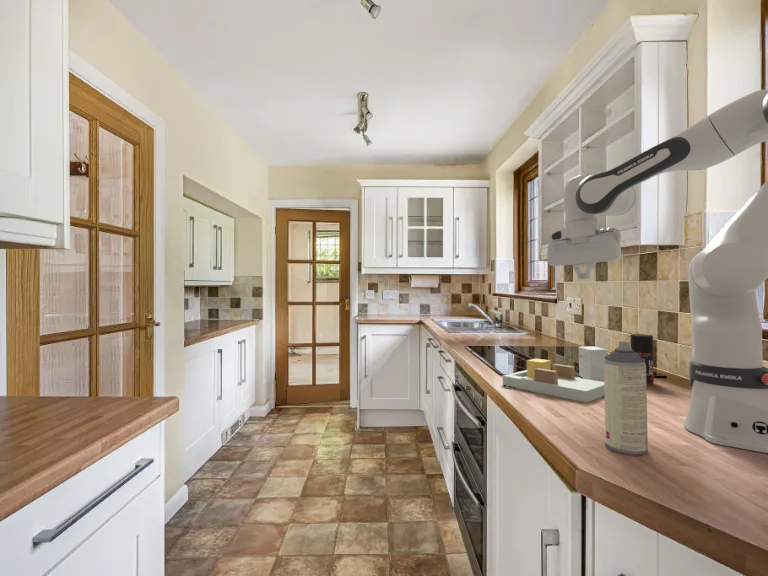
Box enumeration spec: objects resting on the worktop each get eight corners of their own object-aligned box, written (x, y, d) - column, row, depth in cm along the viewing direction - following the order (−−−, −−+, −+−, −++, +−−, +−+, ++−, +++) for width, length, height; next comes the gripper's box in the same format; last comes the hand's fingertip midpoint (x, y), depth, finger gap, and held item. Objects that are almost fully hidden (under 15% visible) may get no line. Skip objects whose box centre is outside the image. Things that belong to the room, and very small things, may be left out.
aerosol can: (634, 441, 79) (632, 339, 79) (656, 456, 72) (654, 344, 72) (598, 441, 79) (597, 339, 80) (616, 455, 73) (614, 344, 73)
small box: (608, 382, 128) (607, 349, 128) (590, 382, 128) (589, 349, 128) (595, 377, 136) (594, 346, 136) (578, 377, 136) (578, 346, 136)
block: (551, 376, 124) (550, 360, 124) (542, 379, 121) (541, 362, 121) (536, 374, 128) (535, 358, 128) (527, 376, 125) (526, 360, 125)
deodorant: (635, 379, 131) (634, 333, 131) (656, 382, 127) (655, 335, 127) (628, 382, 127) (627, 335, 128) (649, 385, 123) (648, 336, 123)
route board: (609, 393, 115) (609, 370, 115) (586, 402, 106) (586, 377, 106) (527, 378, 135) (527, 359, 135) (502, 385, 127) (502, 364, 127)
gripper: (624, 227, 112) (627, 277, 112) (554, 237, 128) (556, 281, 128) (615, 225, 108) (617, 277, 108) (543, 236, 124) (545, 281, 124)
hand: (583, 279), depth 118 cm, fingers closed
